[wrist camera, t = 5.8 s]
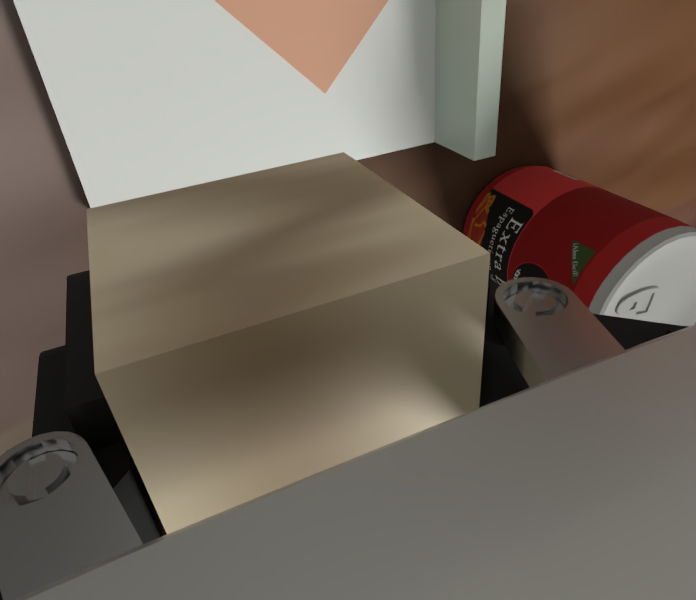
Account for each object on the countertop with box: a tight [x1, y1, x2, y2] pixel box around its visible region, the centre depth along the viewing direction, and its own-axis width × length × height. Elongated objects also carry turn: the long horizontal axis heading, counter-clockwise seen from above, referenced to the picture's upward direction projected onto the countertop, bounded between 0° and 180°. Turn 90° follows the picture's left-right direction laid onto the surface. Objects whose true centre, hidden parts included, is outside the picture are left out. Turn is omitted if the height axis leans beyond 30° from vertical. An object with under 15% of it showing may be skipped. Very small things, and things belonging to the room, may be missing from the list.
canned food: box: [463, 166, 696, 327], centre depth 30 cm, size 8×8×11 cm
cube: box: [87, 152, 490, 534], centre depth 10 cm, size 5×5×5 cm
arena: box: [13, 0, 506, 208], centre depth 21 cm, size 18×14×4 cm
